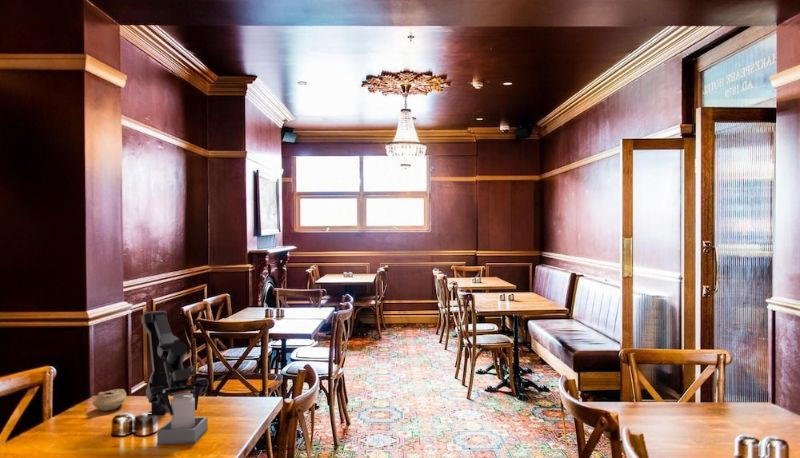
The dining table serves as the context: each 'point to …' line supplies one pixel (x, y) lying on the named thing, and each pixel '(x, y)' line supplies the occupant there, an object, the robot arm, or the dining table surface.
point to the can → (183, 411)
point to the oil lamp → (109, 399)
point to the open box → (182, 433)
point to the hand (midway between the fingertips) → (184, 412)
